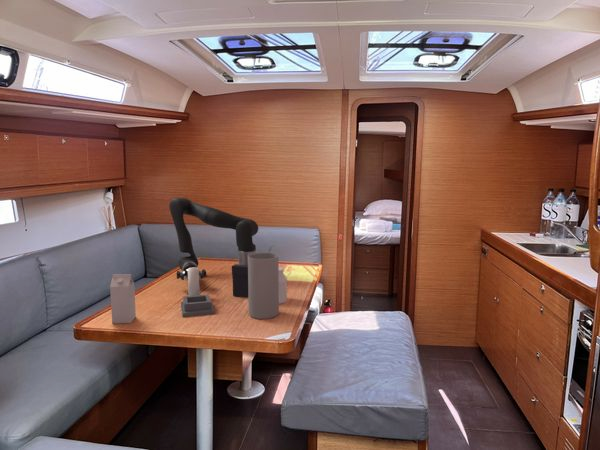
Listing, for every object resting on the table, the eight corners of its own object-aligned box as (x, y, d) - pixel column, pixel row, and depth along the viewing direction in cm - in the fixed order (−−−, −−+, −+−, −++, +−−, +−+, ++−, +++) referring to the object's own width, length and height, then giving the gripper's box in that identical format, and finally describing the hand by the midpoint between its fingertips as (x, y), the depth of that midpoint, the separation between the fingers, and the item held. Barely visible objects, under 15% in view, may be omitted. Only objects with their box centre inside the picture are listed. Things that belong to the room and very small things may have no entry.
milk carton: (118, 317, 179) (115, 272, 176) (135, 317, 179) (133, 272, 177) (112, 323, 172) (109, 276, 169) (130, 323, 172) (128, 276, 170)
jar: (260, 303, 197) (259, 270, 195) (263, 296, 207) (263, 265, 205) (285, 304, 196) (285, 271, 194) (288, 297, 206) (288, 266, 204)
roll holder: (210, 302, 198) (210, 292, 198) (214, 313, 183) (214, 303, 183) (180, 305, 195) (180, 295, 194) (182, 317, 179) (182, 306, 179)
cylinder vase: (281, 318, 178) (281, 258, 175) (251, 321, 175) (250, 260, 171) (274, 308, 190) (274, 252, 187) (246, 311, 187) (245, 253, 183)
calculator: (257, 296, 207) (256, 265, 205) (253, 298, 203) (252, 267, 201) (236, 294, 211) (235, 263, 209) (232, 296, 207) (231, 265, 205)
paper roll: (199, 295, 208) (198, 267, 206) (200, 298, 203) (199, 269, 201) (188, 296, 207) (187, 267, 205) (189, 299, 202) (187, 270, 200)
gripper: (175, 263, 223) (176, 271, 207) (204, 261, 227) (207, 268, 212) (176, 277, 224) (177, 286, 208) (204, 275, 228) (207, 284, 213)
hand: (192, 277), depth 210 cm, fingers open, 8 cm apart
